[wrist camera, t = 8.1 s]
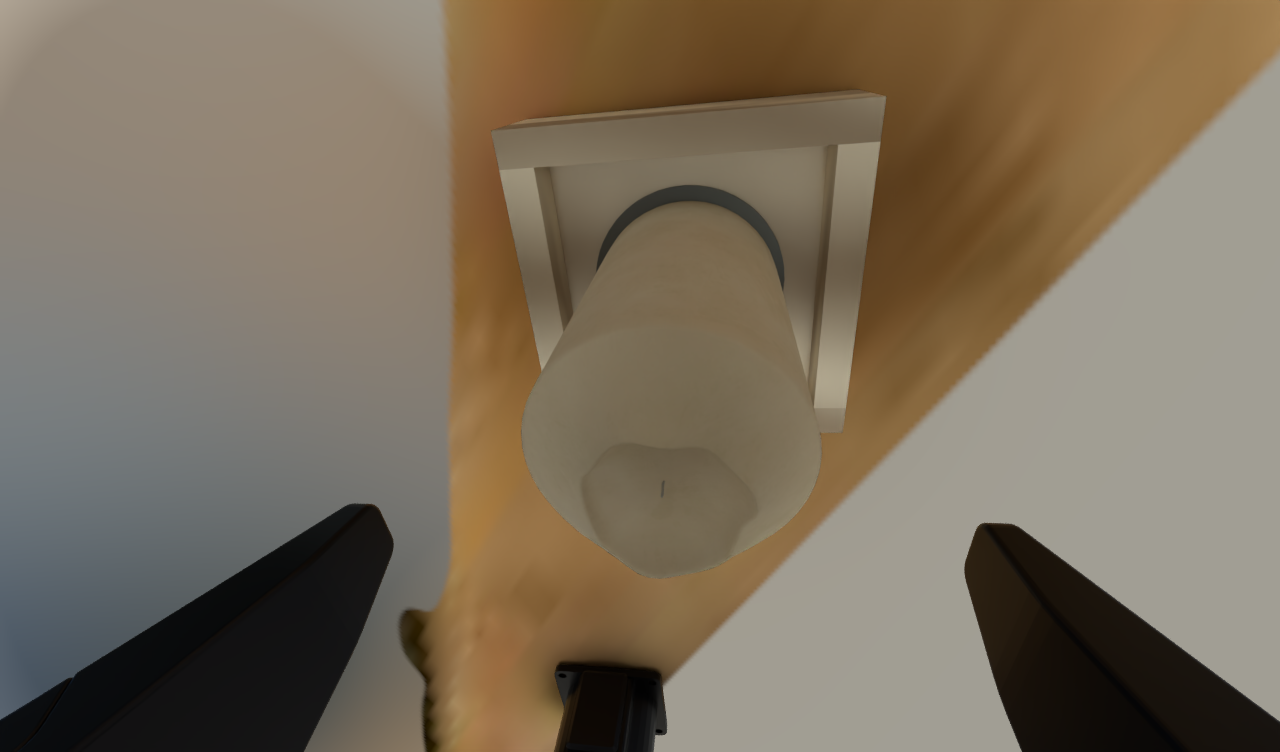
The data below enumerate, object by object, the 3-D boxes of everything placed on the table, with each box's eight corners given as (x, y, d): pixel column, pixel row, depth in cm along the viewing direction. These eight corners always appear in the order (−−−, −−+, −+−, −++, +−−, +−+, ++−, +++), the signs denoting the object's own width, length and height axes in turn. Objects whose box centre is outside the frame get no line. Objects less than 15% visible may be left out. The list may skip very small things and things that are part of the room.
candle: (581, 222, 16) (433, 404, 8) (762, 177, 15) (819, 338, 7) (629, 372, 19) (557, 631, 10) (787, 345, 18) (850, 616, 9)
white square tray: (827, 385, 20) (842, 432, 18) (573, 387, 22) (554, 431, 19) (858, 89, 15) (886, 96, 13) (525, 119, 17) (490, 130, 14)
